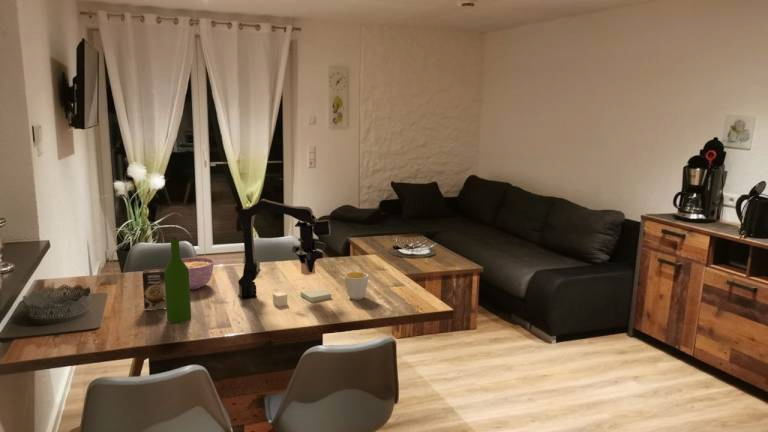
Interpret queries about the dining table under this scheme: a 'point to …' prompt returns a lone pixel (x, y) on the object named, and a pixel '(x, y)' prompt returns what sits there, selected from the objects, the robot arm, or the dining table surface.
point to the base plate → (315, 295)
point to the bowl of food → (199, 271)
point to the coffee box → (154, 288)
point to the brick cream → (280, 299)
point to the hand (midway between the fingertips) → (308, 271)
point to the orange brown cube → (306, 269)
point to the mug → (356, 285)
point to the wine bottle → (177, 287)
